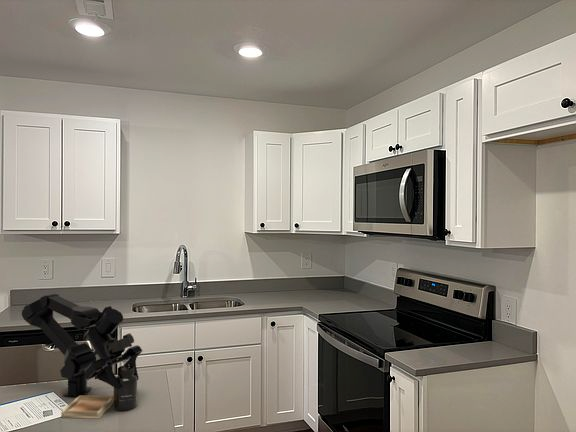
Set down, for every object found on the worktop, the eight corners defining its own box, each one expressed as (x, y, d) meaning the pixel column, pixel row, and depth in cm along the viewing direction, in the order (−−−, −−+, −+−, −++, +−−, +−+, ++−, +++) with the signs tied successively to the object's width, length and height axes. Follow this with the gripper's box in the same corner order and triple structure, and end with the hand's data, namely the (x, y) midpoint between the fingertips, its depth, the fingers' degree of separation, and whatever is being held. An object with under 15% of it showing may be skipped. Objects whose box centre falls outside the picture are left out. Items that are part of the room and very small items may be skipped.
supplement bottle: (123, 413, 134) (124, 373, 133) (108, 408, 137) (108, 369, 137) (141, 404, 140) (142, 366, 139) (126, 399, 143) (126, 362, 143)
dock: (79, 401, 142) (79, 395, 142) (114, 401, 141) (114, 396, 141) (61, 417, 131) (61, 411, 131) (99, 418, 130) (99, 412, 130)
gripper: (91, 335, 131) (119, 379, 127) (138, 320, 148) (164, 359, 143) (72, 357, 135) (98, 401, 130) (120, 340, 152) (145, 379, 147)
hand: (128, 384), depth 138 cm, fingers closed on supplement bottle, 7 cm apart
